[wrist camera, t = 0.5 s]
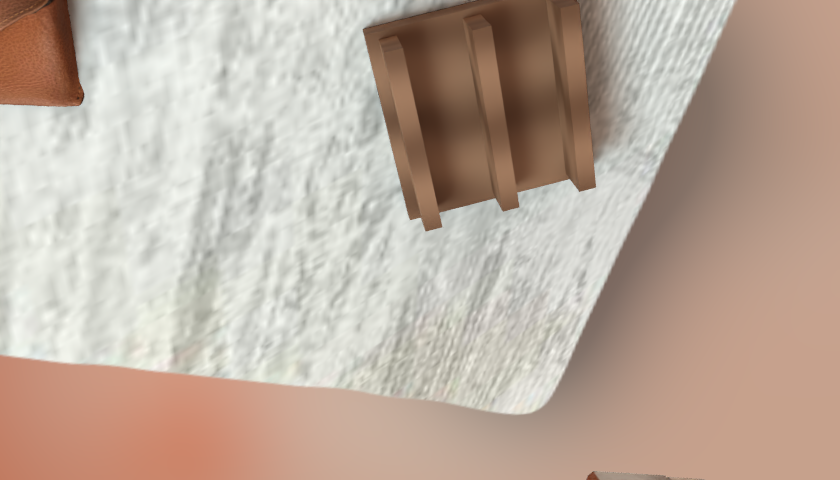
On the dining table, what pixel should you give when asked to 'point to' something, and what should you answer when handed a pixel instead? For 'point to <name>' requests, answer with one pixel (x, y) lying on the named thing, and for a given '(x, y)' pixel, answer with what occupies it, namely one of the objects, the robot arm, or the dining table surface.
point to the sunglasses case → (37, 54)
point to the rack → (484, 102)
